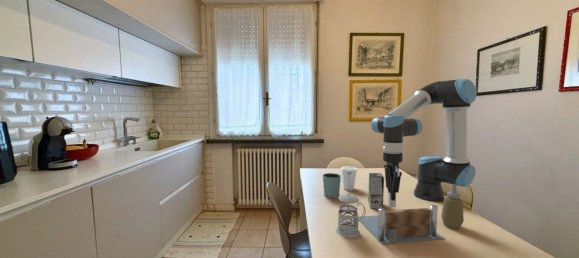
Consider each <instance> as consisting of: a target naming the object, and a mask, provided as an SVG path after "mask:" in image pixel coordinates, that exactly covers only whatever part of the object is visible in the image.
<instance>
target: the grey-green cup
mask: <svg viewBox="0 0 579 258" xmlns="http://www.w3.org/2000/svg"><path fill="white" fill-rule="evenodd" d="M341 179H342V174H338V173H334V172H328V173H324V174H322V182H323V196H324V197H325V198H327V199H338V197H339V196H340V189H341Z"/></svg>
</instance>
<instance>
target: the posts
mask: <svg viewBox="0 0 579 258" xmlns="http://www.w3.org/2000/svg"><path fill="white" fill-rule="evenodd" d="M430 209H431V216H430V234H429V235H430V236H434V237H435V236H436V232H437V230H438V229H437V228H438V227H437V226H438V209H439V207H438V205H435V204H431V205H430ZM377 210H378V213H377V214H378V237H377V238H376V239H377V241H378V242H380V241H384V232H385V215H386V214H385V212H386V209H385V208H384V207H383V208H379V209H377ZM388 242H389V243H390V242H397V229H396V228H391V229H388Z"/></svg>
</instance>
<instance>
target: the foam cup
mask: <svg viewBox="0 0 579 258" xmlns="http://www.w3.org/2000/svg"><path fill="white" fill-rule="evenodd" d="M340 169H341V179H342V187H343V190H345V191H353V190H354V189H355V185H356V183H355V182H356V178H357V173H358V169H357V167H355V166H348V165H346V166H341V168H340ZM347 171H351V173H352V174H347Z"/></svg>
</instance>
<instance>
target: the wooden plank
mask: <svg viewBox="0 0 579 258" xmlns="http://www.w3.org/2000/svg"><path fill="white" fill-rule="evenodd" d="M385 215H386V220H385V237H386V238H387V239H388V229H391V228H396V229H397V238H401V237H413V236H424V235H429V234H430V216H431V208H429V207H423V208H421V207H420V208H407V209H392V210H385Z"/></svg>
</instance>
